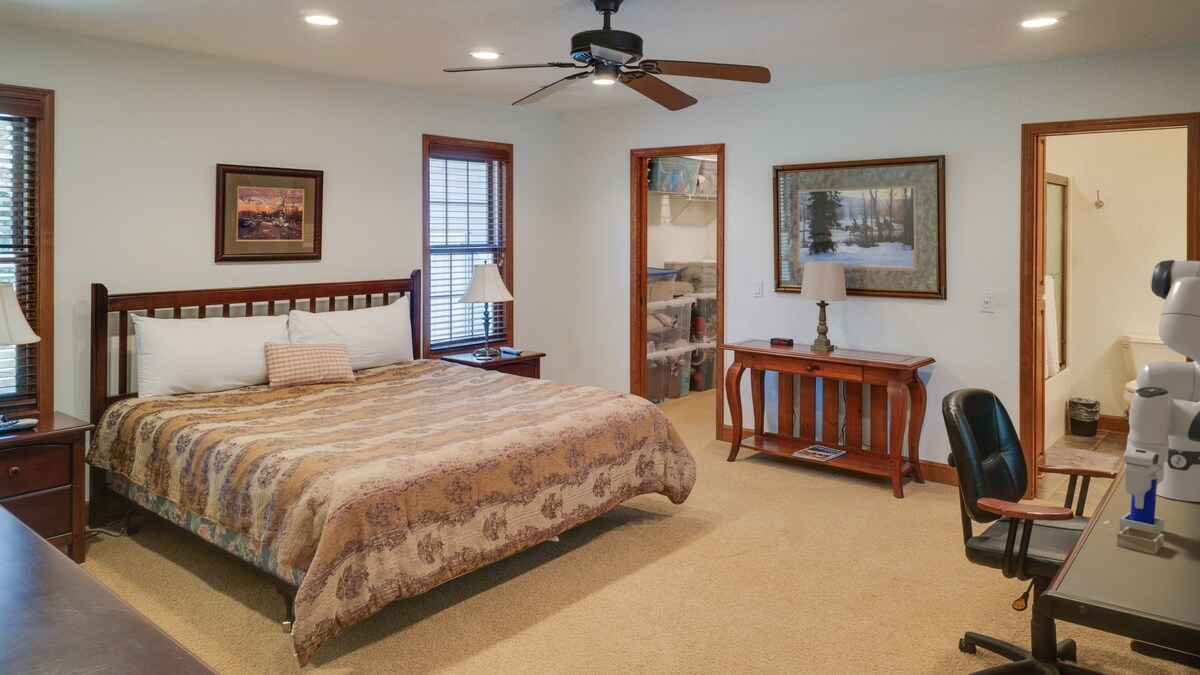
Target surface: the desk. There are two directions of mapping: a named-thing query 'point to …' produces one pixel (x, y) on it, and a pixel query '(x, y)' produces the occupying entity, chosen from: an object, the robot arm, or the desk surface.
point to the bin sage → (1142, 524)
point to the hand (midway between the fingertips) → (1143, 505)
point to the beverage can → (1146, 505)
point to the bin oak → (1140, 540)
